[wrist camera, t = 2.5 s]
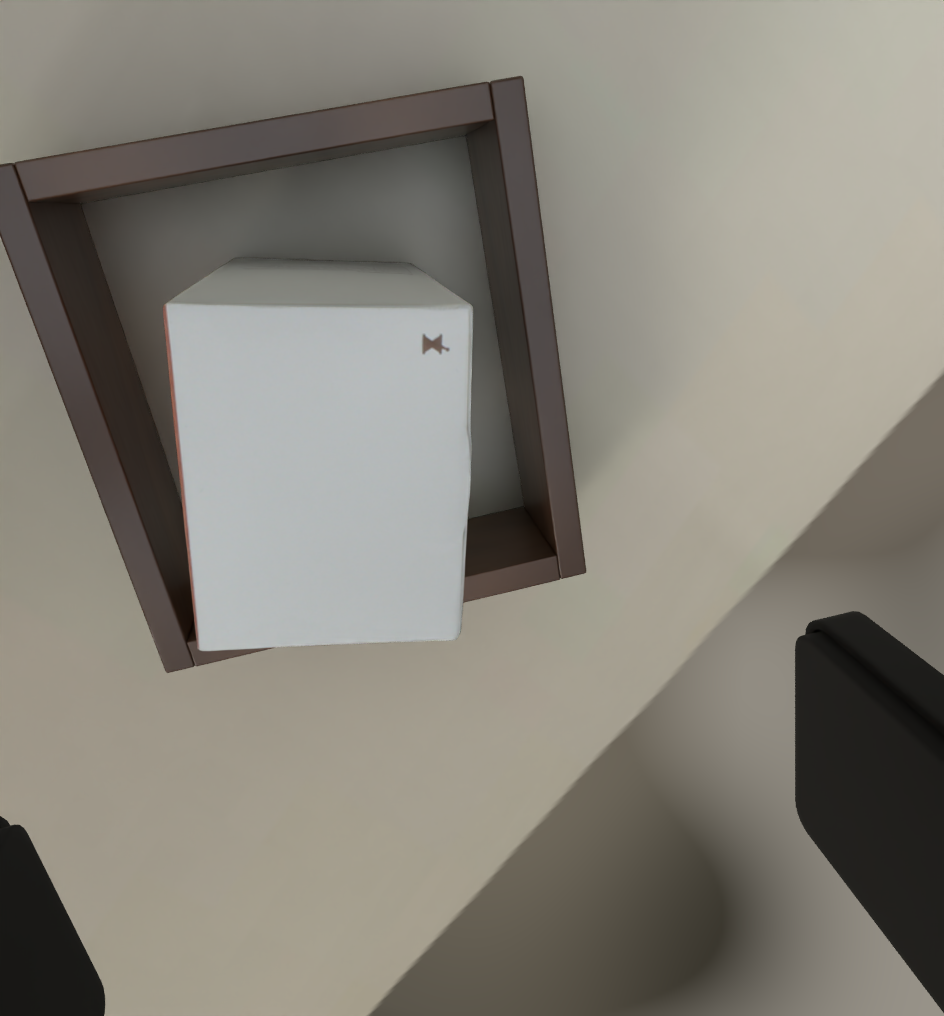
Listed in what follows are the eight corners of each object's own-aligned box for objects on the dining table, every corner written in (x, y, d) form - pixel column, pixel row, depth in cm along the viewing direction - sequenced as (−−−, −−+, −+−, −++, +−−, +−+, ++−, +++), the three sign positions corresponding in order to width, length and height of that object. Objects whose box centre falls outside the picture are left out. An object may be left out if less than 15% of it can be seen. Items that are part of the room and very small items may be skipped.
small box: (230, 255, 27) (156, 292, 15) (414, 260, 28) (482, 298, 16) (246, 478, 30) (193, 660, 18) (412, 475, 31) (468, 644, 19)
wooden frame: (189, 605, 31) (165, 674, 27) (37, 176, 25) (-27, 168, 21) (550, 522, 33) (587, 573, 28) (489, 98, 27) (523, 74, 22)
